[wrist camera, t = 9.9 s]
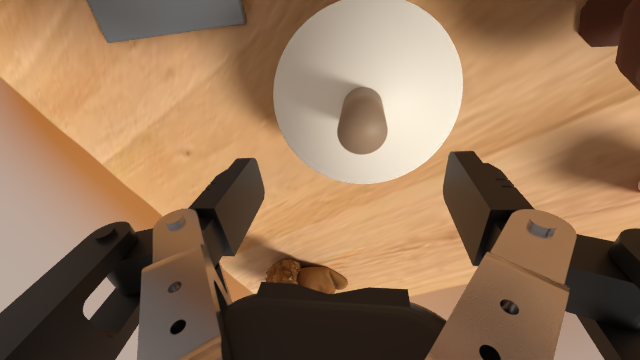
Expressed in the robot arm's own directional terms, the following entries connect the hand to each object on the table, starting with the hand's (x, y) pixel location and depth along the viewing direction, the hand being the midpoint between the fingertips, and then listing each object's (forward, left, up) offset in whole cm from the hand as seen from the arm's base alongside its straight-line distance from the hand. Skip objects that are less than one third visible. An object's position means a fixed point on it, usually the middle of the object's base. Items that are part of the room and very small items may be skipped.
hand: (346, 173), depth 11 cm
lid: (0, +1, -12) cm, 12 cm away
